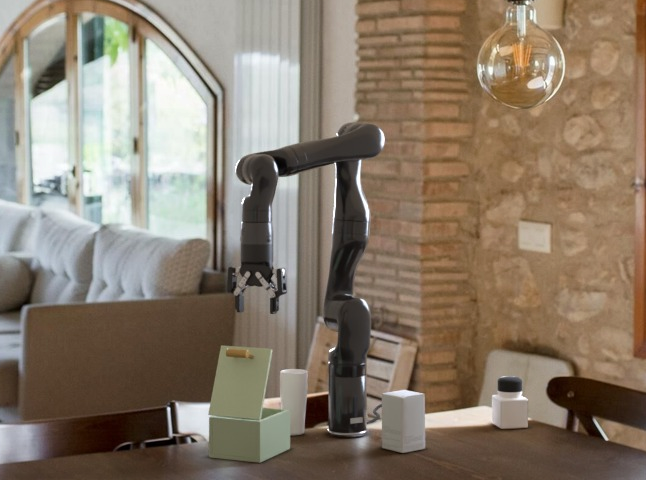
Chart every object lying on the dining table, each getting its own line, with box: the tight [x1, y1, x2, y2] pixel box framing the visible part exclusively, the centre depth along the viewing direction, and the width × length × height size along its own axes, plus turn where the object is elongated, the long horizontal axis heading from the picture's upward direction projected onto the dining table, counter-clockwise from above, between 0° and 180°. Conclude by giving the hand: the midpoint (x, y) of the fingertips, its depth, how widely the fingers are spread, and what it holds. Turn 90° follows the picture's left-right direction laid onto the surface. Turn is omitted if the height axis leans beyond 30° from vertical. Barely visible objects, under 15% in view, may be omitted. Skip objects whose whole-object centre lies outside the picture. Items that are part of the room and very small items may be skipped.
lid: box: [208, 345, 274, 420], centre depth 284 cm, size 16×13×5 cm
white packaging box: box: [381, 389, 426, 454], centre depth 294 cm, size 7×7×13 cm
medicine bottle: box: [491, 375, 529, 430], centre depth 319 cm, size 7×7×12 cm
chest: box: [208, 406, 291, 464], centre depth 289 cm, size 15×13×9 cm
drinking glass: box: [279, 368, 309, 437], centre depth 310 cm, size 7×7×15 cm
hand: (256, 312), depth 293 cm, fingers open, 8 cm apart
